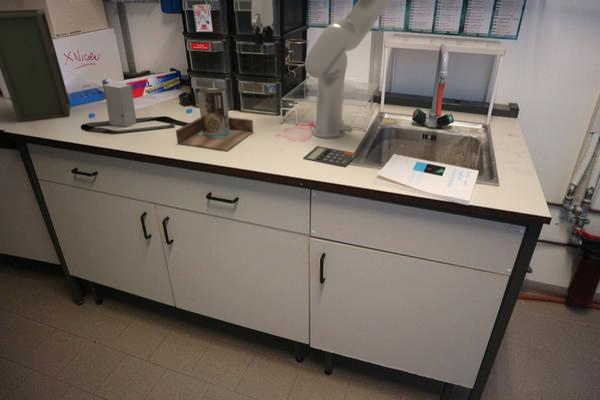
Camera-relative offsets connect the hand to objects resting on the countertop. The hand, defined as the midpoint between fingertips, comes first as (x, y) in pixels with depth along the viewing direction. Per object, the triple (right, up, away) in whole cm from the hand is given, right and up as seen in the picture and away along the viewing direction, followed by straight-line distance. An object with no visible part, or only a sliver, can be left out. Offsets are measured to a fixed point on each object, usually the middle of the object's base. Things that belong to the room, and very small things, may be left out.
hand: (264, 42), depth 156 cm
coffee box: (-18, -35, -2) cm, 39 cm away
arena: (-17, -37, -4) cm, 41 cm away
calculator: (+24, -46, -19) cm, 55 cm away
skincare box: (-57, -29, +10) cm, 65 cm away
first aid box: (-96, -23, +21) cm, 101 cm away
